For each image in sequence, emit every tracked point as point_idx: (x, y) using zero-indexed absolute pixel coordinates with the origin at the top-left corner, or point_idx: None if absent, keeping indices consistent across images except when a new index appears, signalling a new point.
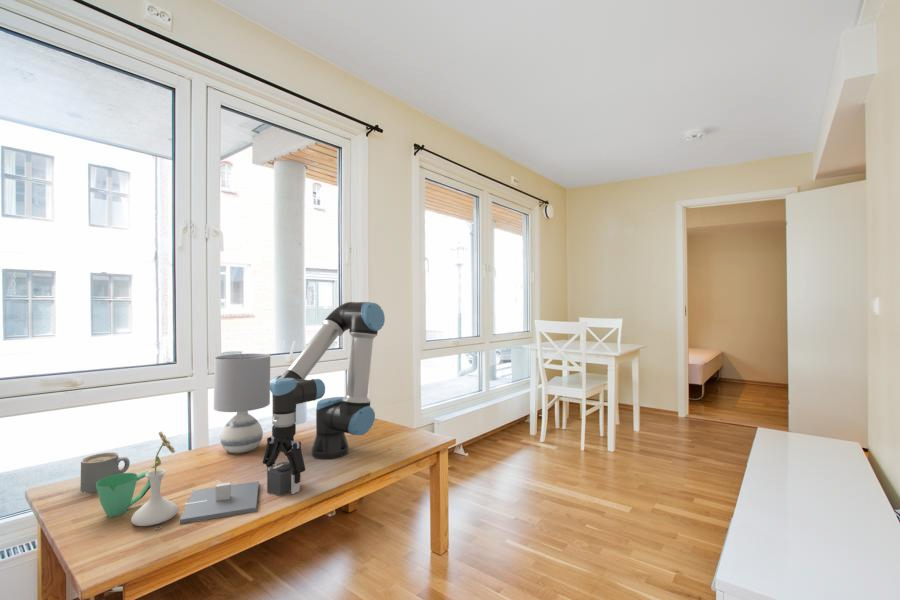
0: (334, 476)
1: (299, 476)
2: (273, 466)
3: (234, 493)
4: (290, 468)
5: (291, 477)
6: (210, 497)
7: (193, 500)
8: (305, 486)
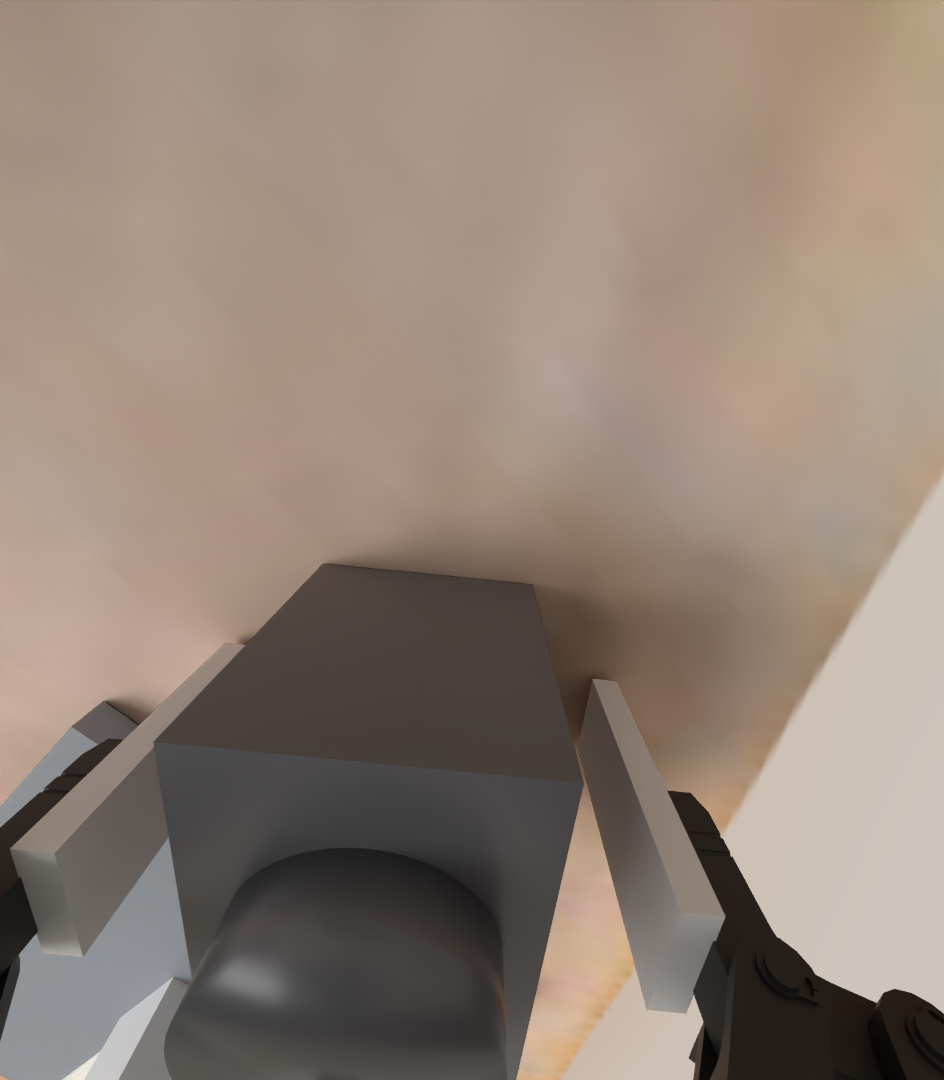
0: (838, 73)
1: (743, 899)
2: (67, 892)
3: (152, 945)
4: (495, 936)
5: (629, 939)
6: (70, 1020)
7: (25, 1066)
8: (599, 555)
